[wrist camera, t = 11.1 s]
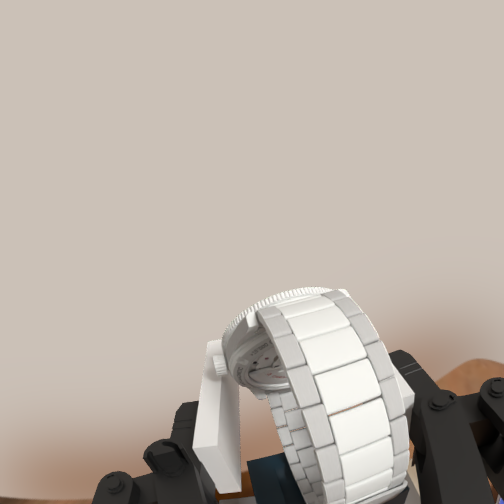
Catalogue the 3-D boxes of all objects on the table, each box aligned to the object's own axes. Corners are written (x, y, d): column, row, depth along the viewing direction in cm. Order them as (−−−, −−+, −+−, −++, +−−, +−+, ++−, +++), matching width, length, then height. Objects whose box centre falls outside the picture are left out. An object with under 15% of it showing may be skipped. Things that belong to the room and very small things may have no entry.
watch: (348, 440, 15) (337, 250, 12) (414, 545, 7) (495, 333, 5) (250, 469, 14) (195, 282, 12) (283, 593, 7) (199, 443, 4)
